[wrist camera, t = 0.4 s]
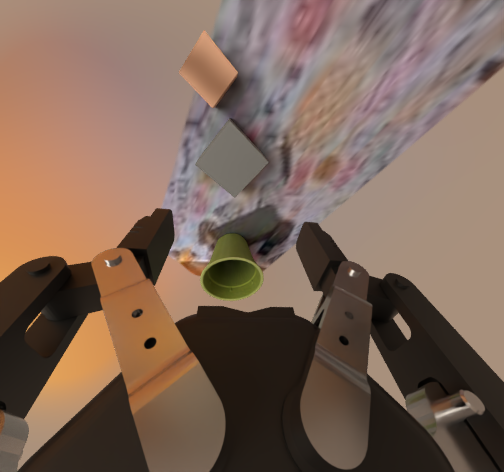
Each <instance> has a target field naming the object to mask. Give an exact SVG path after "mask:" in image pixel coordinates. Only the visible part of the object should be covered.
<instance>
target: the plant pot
mask: <svg viewBox="0 0 504 472" xmlns="http://www.w3.org/2000/svg"><path fill="white" fill-rule="evenodd" d="M200 283H201V286H202V288H203V290H204V291H205V292H206V293H207V294H209V295H210V296H212V297H214V298H217V299H220V300H227V301H235V300H241V299H244V298H247V297H249V296H251V295H253V294H254V293H255V292H257V291H258V290H259V288H260V287H261V286H262V283H263V272H262V270H261V269H260V267H259V266H258V265H257V264H256V262H255V261H254V259H253V257H252V255H251V252H250V250H249V247H248V245H247V242H246V240H245V239H244V238H243V237H242V236H240V235H238V234H233V233H231V234H226V235H224V236H222V237H221V238H219V240H218V241H217V244H216V246H215V249H214V252H213V255H212V257H211V260H210V262H209V263H208V265H207V267H206V268H205V269H204V270H203V272H202V274H201V278H200Z"/></svg>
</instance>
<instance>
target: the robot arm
mask: <svg viewBox="0 0 504 472" xmlns="http://www.w3.org/2000/svg"><path fill="white" fill-rule="evenodd" d="M173 242H174V224H173V215H172V211H171V210H170V209H158V208H157V209H155V211H154V212H153V214H152V215H151V216H145V217H144V218H142V219H140V220H138V222H137V223H136V224H135V225H134V227H133V228H132V229H131V230H130V232H129V233H128V234H127V235H126V236H125V238H124V239H123V240H122V241H121V243H120V244H119V245H118V246H117V248H113V249H109V250H106V251H104V252H102V253H100V254H98V255H97V256H96V257H94V259H93V260H92V262H87V263H81V264H74V265H67V263H66V261H65V260H64V259H63V258H61V257H57V256H49V257H42V258H38V259H35V260H32V261H29V262H27V263H25V264H23V265H21V266H20V267H18V268H17V269H16V270H15V271H13V272H12V273H11V274H10V275H9V276H7V277H6V278H5V279H4V280H3V281H1V282H0V472H504V382H503V381H502V380H501V379H500V378H499V377H498V376H497V374H496V373H495V372H494V371H493V370H492V369H491V368H490V367H489V366H488V365H487V364H486V362H485V361H484V360H483V359H482V358H481V357H480V356H479V355H478V354H477V353H476V352H475V351H474V350H473V348H472V347H471V346H470V345H469V344H468V343H467V342H466V341H465V340H464V339H463V338H462V337H461V335H460V334H459V333H458V332H457V331H456V330H455V329H454V328H453V327H452V326H451V325H450V323H449V322H448V321H447V320H446V319H445V318H444V317H443V316H442V315H441V314H440V313H439V311H438V310H437V309H436V308H435V307H434V306H433V305H432V304H431V303H430V302H429V301H428V300H427V298H426V297H425V296H424V295H423V294H422V293H421V292H420V291H419V290H418V289H417V288H416V286H415V285H414V284H413V283H412V282H410V281H409V280H408V279H406V278H404V277H402V276H400V275H398V274H394V273H389V274H387V275H386V276H385V277H384V278H383V279H379V278H375V277H372V276H369V274H368V272H367V271H366V270H365V269H364V268H363V267H361V266H360V265H359V264H357V263H354V262H351V261H348V260H347V258H346V257H345V256H344V254H343V253H342V251H341V250H340V249H339V247H337V245H336V243H334V240H333V239H332V238H331V236H330V235H328V234H327V233H326V232H325V231H323V230H322V229H321V228H320V226H319V225H318V223H313V222H304V223H303V226H302V228H301V231H300V234H299V237H298V239H297V243H296V249H297V252H298V254H299V257H300V259H301V262H302V264H303V267H304V269H305V271H306V274H307V276H308V278H309V280H310V283H311V285H312V288H313V290H314V291H322V292H323V295H322V297H321V299H320V301H319V304H318V306H317V309H316V311H315V314H314V317H313V319H312V321H311V322H310V321H308V320H306V319H304V318H302V317H299V316H297V315H295V314H294V310H293V307H269V308H265V309H261V310H257V311H253V312H243V311H239V310H235V309H231V308H227V307H224V306H198V311H197V314H194V315H191V316H188V317H185V318H184V319H181V320H179V321H178V322H176V323H174V321H173V320H172V318H171V316H170V314H169V313H168V311H167V309H166V307H165V306H164V304H163V302H162V300H161V298H160V296H159V295H158V293H157V291H156V289H155V287H154V286H153V285H155V284H156V282H157V279H158V276H159V275H160V272H161V270H162V267H163V265H164V263H165V261H166V258H167V256H168V254H169V251H170V249H171V247H172V244H173ZM100 310H103V311H104V315H105V318H106V321H107V325H108V328H109V331H110V335H111V338H112V341H113V345H114V348H115V351H116V354H117V358H118V361H119V364H120V368H121V371H122V372H121V373H120V374H119V375H118V376H117V377H115V378H114V379H113V380H112V381H111V382H110V383H109V384H108V385H107V386H106V387H105V388H104V389H103V390H102V391H101V392H99V394H97V395H96V396H95V397H94V398H93V399H92V400H91V401H90V402H89V403H88V404H87V405H86V406H85V407H84V408H82V409H81V410H80V411H79V412H78V413H77V414H76V415H75V416H74V417H73V418H72V419H71V420H70V421H69V422H68V423H66V424H65V425H64V426H63V427H62V428H61V429H60V430H59V431H58V432H57V433H56V434H55V435H54V436H53V437H52V438H51V439H49V440H48V441H47V442H46V443H45V444H44V445H43V446H42V447H41V448H40V449H39V450H38V451H37V452H36V453H35V454H34V455H33V456H31V457H30V458H29V459H28V460H27V462H26V463H25V464H24V465H23V466H22V467H21V468H20V469H19V470H18V471H17V467H18V461H19V460H20V458H21V456H22V453H23V448H24V446H25V443H26V441H27V438H28V432H29V428H28V424H27V422H26V421H25V420H24V418H25V417H26V415H27V413H28V412H29V410H30V408H31V407H32V405H33V404H34V402H35V400H36V398H37V397H38V395H39V394H40V392H41V390H42V389H43V387H44V386H45V384H46V382H47V381H48V379H49V377H50V376H51V374H52V372H53V371H54V369H55V367H56V365H57V364H58V362H59V361H60V359H61V358H62V356H63V354H64V352H65V351H66V349H67V348H68V346H69V344H70V343H71V341H72V339H73V338H74V336H75V334H76V333H77V331H78V330H79V328H80V326H81V324H82V323H83V321H84V320H85V318H86V317H87V315H88V313H92V312H96V311H100ZM40 312H41V314H40V316H39V317H38V318H37V319H36V321H35V322H34V323H33V325H32V326H31V327H30V328H29V329H28V330H27V328H28V326H29V325H30V324H31V323H32V322H33V320H34V319H35V318H36V317H37V316H38V314H39V313H40ZM398 313H399V314H400V315H401V316H402V318H403V319H404V320H405V322H406V323H407V325H408V326H409V328H410V330H411V338H410V339H409V340H407V339H406V338H405V336H404V335H403V333H402V332H401V330H400V329H399V327H398V326H397V324H396V323H395V321H394V320H393V318H394V316H396V315H397V314H398ZM26 330H27V332H26ZM25 332H26V333H25ZM370 334H371V336H372V338H373V340H374V342H375V343H376V346H377V348H378V349H379V351H380V353H381V355H382V357H383V359H384V361H385V363H386V364H387V366H388V368H389V370H390V372H391V374H392V376H393V377H394V379H395V381H396V383H397V385H398V387H399V389H400V391H401V393H402V394H403V396H404V398H405V400H406V408H407V411H406V410H405V409H404V408H403V407H402V406H401V405H400V404H399V403H398V402H397V401H396V400H395V399H394V398H392V396H390V395H389V394H388V393H387V392H386V391H385V390H384V389H383V388H382V387H381V386H380V385H379V384H378V383H377V382H376V381H374V380H373V379H372V378H371V377H370V376H369V375H368V374H367V366H368V353H369V341H370Z"/></svg>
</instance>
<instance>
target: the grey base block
mask: <svg viewBox="0 0 504 472" xmlns="http://www.w3.org/2000/svg"><path fill="white" fill-rule="evenodd" d="M268 163H269V162H268V160H267V159H266V157H265V156H264V154H263V153H262V152H261V151H260V150H259V149H258V148H257V147H256V146H255V145H254V144H253V142H252V141H251V140H250V139H249V138H248V137H247V136H246V135H245V134H244V133H243V132H242V131H241V130H240V128H239V127H238V126H237V125H236V124H235V123H234V122H233V121H232V120H231V119H230V118H229V120H228V121H227V122H226V124H225V125H224V126H223V127H222V129H221V130H220V131H219V133H218V134H217V135H216V137H215V138H214V139H213V140H212V142H211V143H210V144H209V146H208V147H207V148H206V149H205V151H204V152H203V153H202V155H201V156H200V157H199V159H198V161H197V162H196V164H195V165H196V166H197V167H198V168H200V169H201V170H202V171H203V172H204V173H206V174H207V175H208V176H209V177H211V178H212V179H213V180H214V181H215V182H217V183H218V184H219V185H220V186H221V187H223V188H224V189H225V190H226V191H227V192H229V193H230V194H231V195H232V196H233V197H236V196H237V195H238V194H239V193H240V192H241V191H242V190H243V189H244V188H245V187H246V185H247V184H248V183H249V182H250V181H251V180H252V179H253V178H254V177H255V176H256V175H257V174H258V173H259V172H260V171H261V170H262V169H263V168H264V167H265V166H266V165H267V164H268Z"/></svg>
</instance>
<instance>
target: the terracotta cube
mask: <svg viewBox="0 0 504 472" xmlns="http://www.w3.org/2000/svg"><path fill="white" fill-rule="evenodd" d="M179 73H180V74H181V75H182V76H183V78H184V79H185V80H186V81H187V82H188V83H189V84H190V85H191V86H192V87H193V88H194V89H195V90H196V91H197V92H198V93H199V94H200V95H201V96H202V97H203V99H204V100H205V101H206V102H207V103H208V104H209V105H210V106H211V107H212V108H215V107H216V106H217V104H218V103H219V101H220V100H221V99H222V97H223V96H224V94H225V93H226V92H227V90H228V89H229V87H230V86H231V85H232V83H233V82H234V81H235V79H236V78H237V75H238V72H237V71H236V69H235V68H234V67H233V66H232V64H231V63H230V62H229V61H228V59H227V58H226V57H225V56H224V54H223V53H222V52H221V51H220V49H219V48H218V47H217V46H216V44H215V43H214V42H213V41H212V39H211V38H210V37H209V35H208V34H207V33H206V32H205V30H204V31H203V33H202V34H201V36H200V38H199V40H198V41H197V43H196V44H195V46H194V48H193V49H192V51H191V53H190V55H189V56H188V58H187V60H186V61H185V63H184V65H183V66H182V68H181V70H180V71H179Z"/></svg>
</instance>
